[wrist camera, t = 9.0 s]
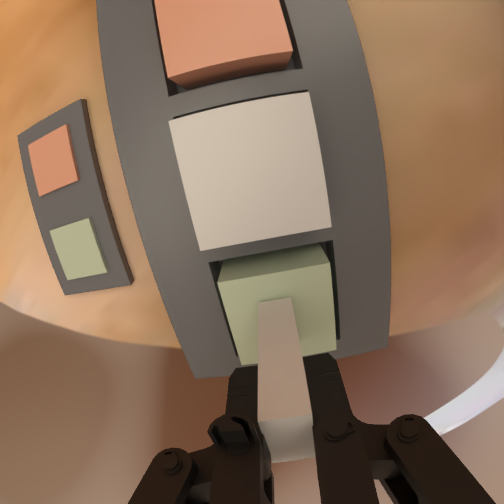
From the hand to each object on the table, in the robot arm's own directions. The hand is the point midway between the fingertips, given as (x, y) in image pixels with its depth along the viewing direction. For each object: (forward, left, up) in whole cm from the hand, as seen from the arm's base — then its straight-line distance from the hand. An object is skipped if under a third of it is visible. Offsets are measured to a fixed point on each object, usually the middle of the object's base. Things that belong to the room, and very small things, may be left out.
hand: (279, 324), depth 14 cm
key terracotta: (-14, 0, -3) cm, 14 cm away
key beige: (-7, 0, -2) cm, 7 cm away
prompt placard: (-8, -12, -5) cm, 15 cm away
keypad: (-11, 0, -5) cm, 12 cm away
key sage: (0, 0, -3) cm, 3 cm away
